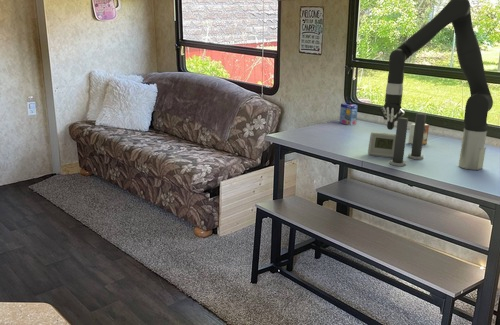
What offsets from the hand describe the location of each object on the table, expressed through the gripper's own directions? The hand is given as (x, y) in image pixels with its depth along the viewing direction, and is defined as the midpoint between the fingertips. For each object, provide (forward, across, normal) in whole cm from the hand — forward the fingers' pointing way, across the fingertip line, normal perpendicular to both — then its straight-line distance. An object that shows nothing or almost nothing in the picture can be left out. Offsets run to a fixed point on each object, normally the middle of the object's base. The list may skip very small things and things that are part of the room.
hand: (390, 129), depth 235 cm
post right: (+13, -11, -7) cm, 18 cm away
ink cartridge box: (+13, +56, -48) cm, 75 cm away
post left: (+13, -11, +10) cm, 20 cm away
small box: (+13, +2, -34) cm, 36 cm away
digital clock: (+13, 0, +2) cm, 13 cm away
